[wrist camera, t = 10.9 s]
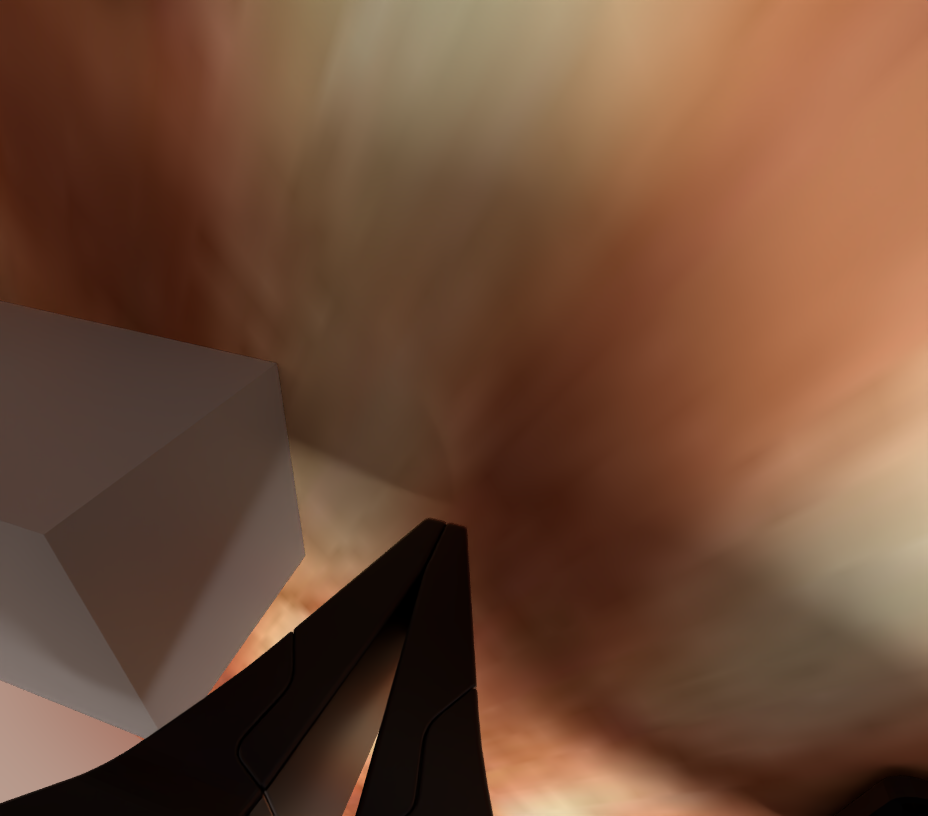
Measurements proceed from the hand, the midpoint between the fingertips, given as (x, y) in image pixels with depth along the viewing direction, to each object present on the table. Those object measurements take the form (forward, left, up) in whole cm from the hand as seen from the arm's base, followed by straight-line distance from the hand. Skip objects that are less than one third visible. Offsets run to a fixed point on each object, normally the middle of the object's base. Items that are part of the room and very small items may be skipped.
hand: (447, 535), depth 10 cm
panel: (+9, 0, -1) cm, 9 cm away
